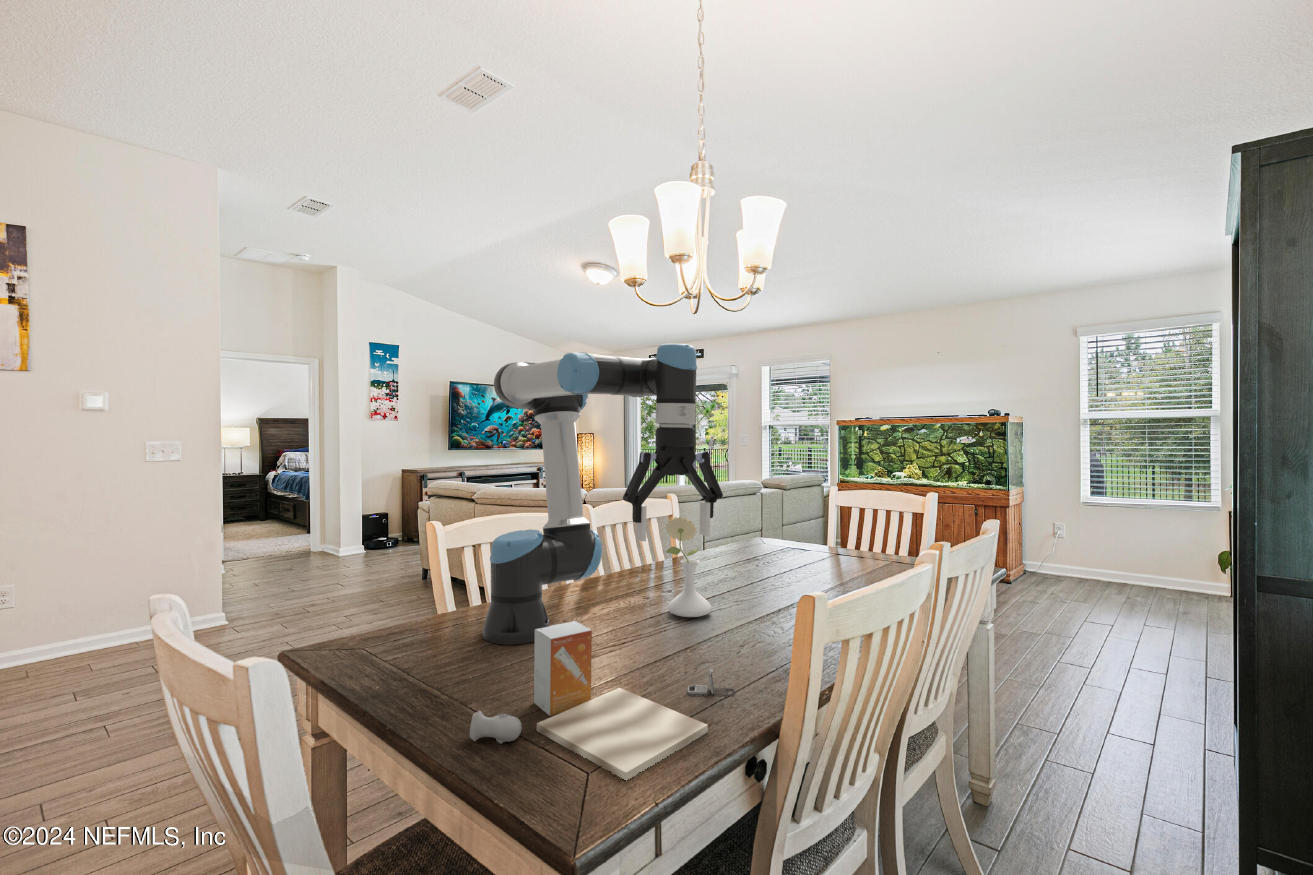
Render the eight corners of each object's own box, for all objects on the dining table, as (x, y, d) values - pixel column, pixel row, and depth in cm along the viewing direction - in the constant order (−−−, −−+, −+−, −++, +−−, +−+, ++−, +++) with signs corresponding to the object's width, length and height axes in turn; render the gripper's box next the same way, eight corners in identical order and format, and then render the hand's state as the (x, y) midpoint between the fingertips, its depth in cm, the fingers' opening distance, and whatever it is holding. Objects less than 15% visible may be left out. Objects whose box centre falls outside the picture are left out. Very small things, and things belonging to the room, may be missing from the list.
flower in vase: (719, 612, 157) (719, 516, 156) (698, 624, 147) (698, 522, 147) (676, 604, 164) (676, 512, 163) (653, 615, 154) (654, 517, 154)
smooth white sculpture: (525, 742, 94) (513, 748, 89) (477, 736, 95) (462, 742, 90) (529, 711, 95) (517, 716, 90) (481, 706, 96) (467, 711, 91)
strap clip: (687, 697, 107) (687, 673, 107) (687, 689, 110) (687, 666, 110) (735, 698, 107) (735, 674, 107) (733, 690, 110) (734, 667, 110)
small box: (550, 717, 99) (550, 638, 99) (533, 703, 104) (533, 628, 104) (592, 704, 104) (592, 629, 104) (574, 691, 109) (574, 619, 109)
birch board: (536, 730, 94) (536, 723, 94) (619, 694, 108) (619, 687, 108) (626, 781, 81) (626, 772, 81) (707, 732, 94) (707, 724, 94)
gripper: (622, 425, 105) (620, 546, 106) (741, 427, 116) (739, 536, 117) (606, 425, 112) (605, 538, 113) (721, 426, 123) (719, 529, 123)
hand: (673, 537), depth 115 cm, fingers open, 13 cm apart
